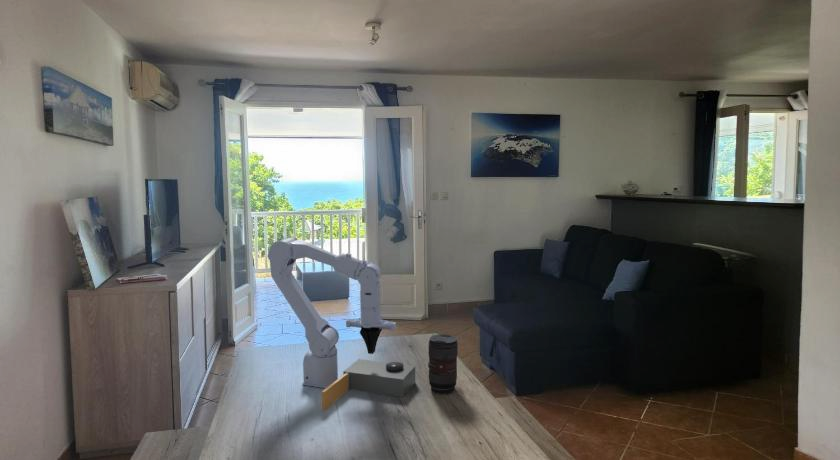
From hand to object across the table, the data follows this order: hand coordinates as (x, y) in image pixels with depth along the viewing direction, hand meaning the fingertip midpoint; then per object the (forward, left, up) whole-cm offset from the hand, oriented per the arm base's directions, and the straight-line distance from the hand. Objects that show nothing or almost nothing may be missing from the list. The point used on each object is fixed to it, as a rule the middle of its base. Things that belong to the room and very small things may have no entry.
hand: (371, 352), depth 149 cm
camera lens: (+20, +3, -10) cm, 23 cm away
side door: (-5, -12, -9) cm, 16 cm away
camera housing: (+2, 0, -10) cm, 10 cm away
